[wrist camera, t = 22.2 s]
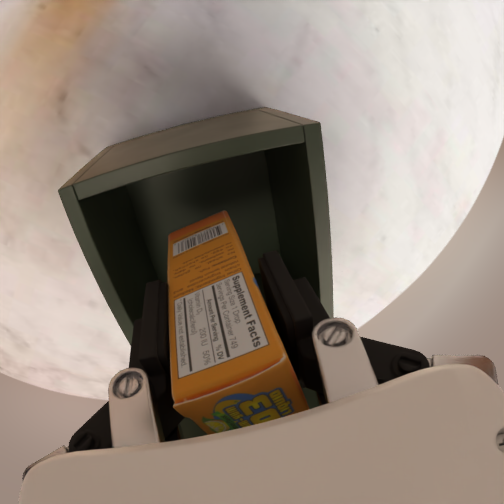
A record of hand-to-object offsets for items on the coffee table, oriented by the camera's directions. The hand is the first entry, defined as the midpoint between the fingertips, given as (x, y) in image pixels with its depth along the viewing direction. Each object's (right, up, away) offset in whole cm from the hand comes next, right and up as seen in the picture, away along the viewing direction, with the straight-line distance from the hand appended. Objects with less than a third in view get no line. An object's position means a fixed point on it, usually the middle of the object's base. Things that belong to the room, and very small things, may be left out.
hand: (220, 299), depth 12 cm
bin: (-2, +5, +12) cm, 13 cm away
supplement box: (-1, +2, +4) cm, 5 cm away
